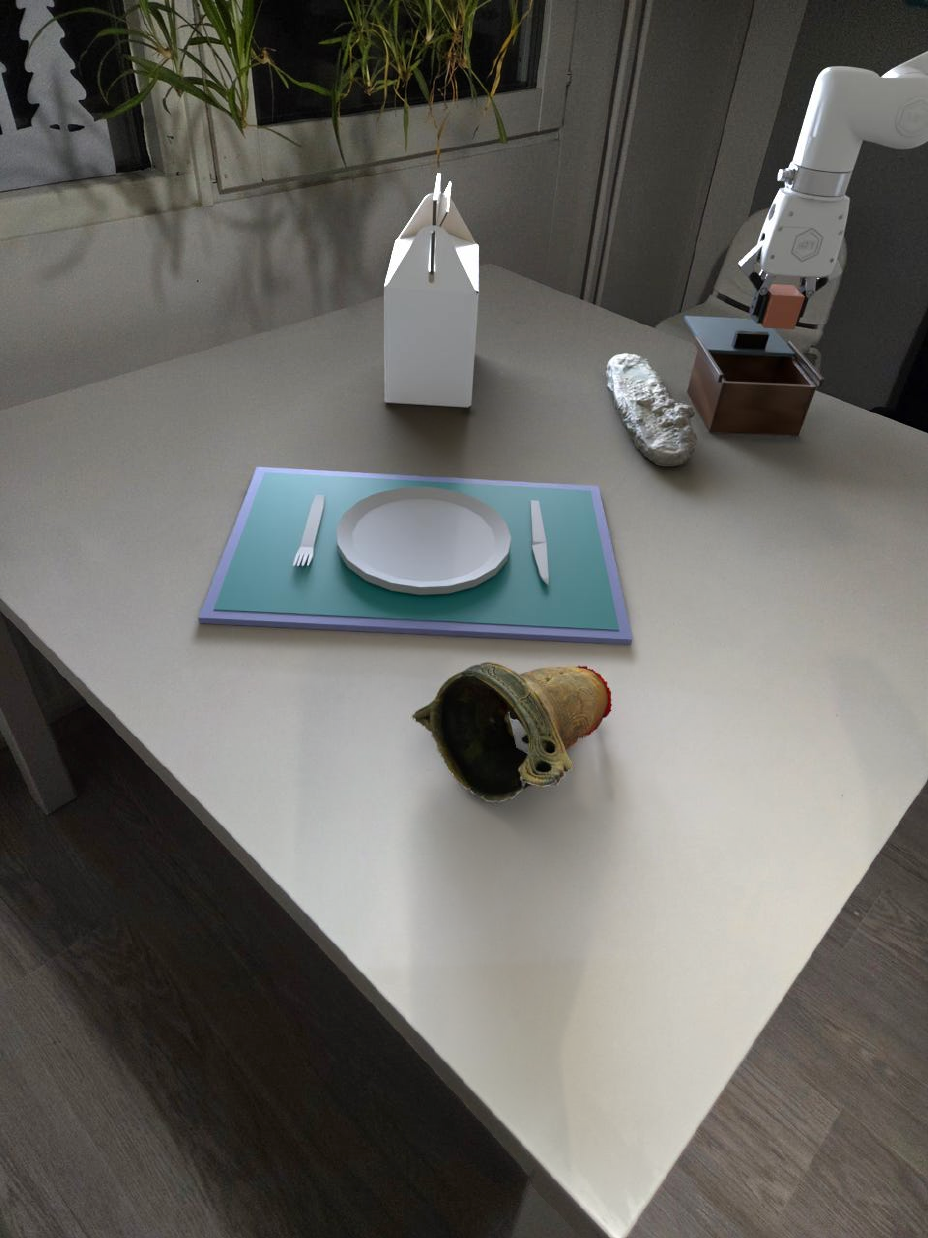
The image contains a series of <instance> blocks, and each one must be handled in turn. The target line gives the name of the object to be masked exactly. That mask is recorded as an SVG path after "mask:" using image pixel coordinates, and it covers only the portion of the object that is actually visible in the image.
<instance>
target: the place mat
mask: <svg viewBox="0 0 928 1238" xmlns="http://www.w3.org/2000/svg"><path fill="white" fill-rule="evenodd" d="M211 581H212V582H211V584H210V585H209V589H208V592H207V594H206V597H205V599H204V602H203V604H202V607H201V609H200V612H199V615H198V623H199V624H210V625H231V626H232V625H233V626H249V627H250V626H252V627H269V628H274V627H275V628H289V629H311V630H331V631H347V632H348V631H349V632H372V633H387V634H388V633H390V634H410V635H428V636H429V635H430V636H449V637H467V638H469V637H470V638H489V639H505V640H506V639H507V640H508V639H510V640H527V641H547V642H548V641H549V642H567V643H568V642H569V643H585V644H587V643H588V644H606V645H607V644H608V645H625V646H627V645H629V646H631V645H632V643H633V640H634V639H633V636H632V635H633V634H632V630H631V626H630V620H629V617H628V612H627V608H626V603H625V600H624V595H623V590H622V586H621V581H620V575H619V573H618V567H617V563H616V559H615V554H614V549H613V545H612V541H611V536H610V531H609V527H608V522H607V517H606V514H605V509H604V505H603V501H602V495H601V491H600V487H599V485H585V484H566V483H550V482H549V483H547V482H530V481H517V480H516V481H514V480H498V479H497V480H495V479H480V478H479V479H478V478H460V477H446V476H444V477H443V476H427V475H412V474H411V475H410V474H409V475H405V474H392V473H376V472H375V473H373V472H359V471H341V470H339V471H338V470H321V469H305V468H304V469H303V468H286V467H285V468H284V467H269V466H268V467H267V466H256V468H255V470H254V474H253V477H252V479H251V481H250V484H249V486H248V489H247V491H246V494H245V496H244V499H243V501H242V505H241V507H240V509H239V512H238V515H237V516H236V519H235V522H234V525H233V527H232V530H231V533H230V535H229V537H228V540H227V543H226V545H225V548H224V550H223V553H222V556H221V558H220V561H219V563H218V566H217V568H216V571H215V574H214V576H213V579H212V580H211Z"/></svg>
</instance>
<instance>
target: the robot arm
mask: <svg viewBox="0 0 928 1238" xmlns="http://www.w3.org/2000/svg"><path fill="white" fill-rule="evenodd" d="M863 141H866V142H869V143H874V144H877V145H881V146H883V147H888V148H891V149H895V150H909V149H915V148H917V147H920V146H922V145H924V144H926V143H928V50H927V51H925V52H923V53H921V54H919V55H916V56H915V57H913V58H911V59H909V60H907V61H904V62H903V63H900V64H898V65H897V66H895V67H893V68H891V69H890V70H889V71H887V72H886V73H884V74H883V75H882V76H880V75H879V74H878V73H876V72H875V71H874V70H871V69H866V68H862V67H861V68H860V67H855V66H843V65H839V66H838V65H837V66H829V67H826V68H824V69H823V70H822V71H821V72H820V73H819V74H818V76H817V78H816V80H815V83H814V86H813V90H812V93H811V97H810V99H809V103H808V106H807V110H806V114H805V117H804V120H803V124H802V128H801V131H800V134H799V137H798V141H797V145H796V147H795V150H794V151H795V152H794V155H793V159H792V161H791V162H790V163H789V166H788V168H782V169H781V168H780V169H779V171H778V174H777V181H778V182H782V183H784V187H780V188H779V190H778V192H777V194H776V196H775V198H774V200H773V202H772V204H771V206H770V209H769V211H768V213H767V216H766V218H765V221H764V223H763V225H762V228H761V231H760V234H759V237H758V240H757V243H756V245H755V246H754V247H753V248H752V249H751V250H750V251H749V252H748V253H747V254H746V255H745V256H744V257H743V258H742V259H741V260H740V261H739V262H738V265H737V266H738V268H739V270H740V271H742V273H743V274H744V275H745V276H746V277H747V279H748V280H749V281H750V283H751V285H752V287H753V288H754V293H753V296H752V300H751V304H750V307H749V314H750V317H751V319H753V320H754V321H755V322H756V324H760V323H762V321H763V317H764V314H765V311H766V307H767V304H768V301H769V296H768V290H769V288H770V287H771V285H772V284H774V281H775V280H776V278H777V277H792V278H799V287H798V288H797V289H798V290H799V291H800V292H801V293H802V294H803V295H804V296H805V298H804V301H803V304H802V307H801V310H800V313H799V316H798V319H797V322H796V325H795V327H796V326H798V325H799V323H800V320H801V319H802V318H803V317H804V315H805V312H806V309H807V306H808V303H809V299H810V298H813V297H814V296H815V293H816V292H818V291H819V290H820V289H822V288H823V287H824V286H826V285H827V284H828V283H829V282H831V281H833V280H835V279H837V278H838V277H840V276H841V275H842V273H843V269H842V267H841V264H840V260H839V254H840V250H841V247H842V243H843V239H844V235H845V230H846V225H847V221H848V214H849V209H850V202H851V198H850V197H849V196H847V195H846V192H847V189H848V187H849V183H850V180H851V177H852V174H853V170H854V168H855V165H856V162H857V160H858V156H859V153H860V150H861V146H862V144H863ZM755 264H756V265H758V266H759V268H760V271H759V273H758V271H756V269H754V266H755Z"/></svg>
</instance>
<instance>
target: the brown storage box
mask: <svg viewBox="0 0 928 1238" xmlns="http://www.w3.org/2000/svg"><path fill="white" fill-rule="evenodd" d="M787 345H788V346H789V347H790V348H791V349H792V351H793V352H794V353H795V355H794V357H779V356H757V355H735V354H713V353H709V351H708V350H707V348H706V346H705V345H704V343H703V342H702V340H701V339H700V337H695V338H694V346H695V348H696V350H697V351H696V355H695V358H694V362H693V365H692V371H691V375H690V379H689V382H688V386H687V391H686V393H687V394H688V397H689V398H690V400H691V402H692V404H693V405H694V407H695V409H696V411H697V413H698V416H699V417H700V418H701V420H702V422H703V424H704V426H705V427H706V429H707V432H708V433H710V434H732V435H733V434H734V435H759V436H783V437H799V436H800V434H801V431H802V429H803V427H804V424H805V420H806V417H807V415H808V412H809V409H810V407H811V404H812V401H813V398H814V395H815V393H816V390H817V387H818V388H822V387H823V385H824V382H825V378H824V377H823V376H822V374H821V373H820V372H819V371H818V370H817V368H816V367H815V366H814V365H813V364H812V363H811V361H810V360H809V359H808V358H807V357H806V356H805V354H804V353H803V352H802V351H801V350H800V349H799V347H798V346H797V345H796V344H795V343H794V341H792V340H789V341H788V343H787Z"/></svg>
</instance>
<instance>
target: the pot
mask: <svg viewBox="0 0 928 1238" xmlns="http://www.w3.org/2000/svg"><path fill="white" fill-rule="evenodd" d="M612 706H613V704H612V691H611V689H610V686H608V681H606V680H605V678H603V676H602V675H601V674H600V673H599V672H596V670H594V669H591V668H588V666H587V665H578V666H572V665H571V666H569V665H566V666H564V665H563V666H549V667H540V668H536V669H532V670H530V671H526V672H523V673H520V674H519V673H518V672H516V671H515V670H514V669H510V668H509V667H507V666H505V665H502V664H499V663H496V662H490V661H489V662H488V661H487V662H481V663H480V664H479V663H478V664H474V665H471V666H469V667H467V668H466V669H464V670H462V671H461V672H458V673H456V674H453V675H452V676H451V677H449V678H447V680H445V681H444V682H443V684H442V685H441V686H440V688H439V689H438V691H437V693H436V696H435V698H434V699H433V700H432V701H431V702H430V703H429V704H427V705H425V706H423V707H421V708H419V709H417V710H415V712H414V713H413V714H412V715H411V719H412V720H415V723H419V724H420V725H421V726H422V727H424V730H427V731H428V732H430V733H431V734H432V735H431V737H432V738H433V739H434V741H435V743H436V750H437V751H438V753H439V754H440V755H439V756H440V758H443V763H444V764H445V766H446V767H447V770H448V771H449V772H450V774H451V775H452V777H453V779H455V780H456V782H457V783H458V784H459V785H461V787H462V788H464V790H466V791H469V792H470V793H471V794H472V795H475V797H478V798H479V799H484V801H485V802H492V803H493V804H494V803H495V802H498V803H500V802H506V801H507V799H511V800H514V798H516V796H517V795H519V793H520V792H523V790H525V789H527V788H529V787H530V786H536V787H543V788H544V787H550V786H552V785H555V786H559V785H560V783H561V780H563V779H564V777H565V775H566V773H569V771H570V772H572V770H573V762H572V760H571V759H570V757H569V756H568V753H567V750H569V749H570V748H571V747H573V746H574V745H576V743H577V742H578V741H579V739H583V738H586V737H589V736H591V735H592V733H594V732H595V731H596V730H598V729H599V727H600V725H601V723H602V721H603V720H604V719H606V718H607V717H608V716H609V715H610V713H611V712H612ZM512 720H513V721H518V722H519V724H520V726H521V727H522V729H523V730H524V731H525V735H524V736H522V737H521V738H520V741H521V742H522V743H523V744H526V745H527V744H528V751H527V752H526V751H524V750H522V749H521V748H519V747H518V746H517V742H516V737H515V734H514V730H513V726H512V722H511V721H512Z"/></svg>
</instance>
